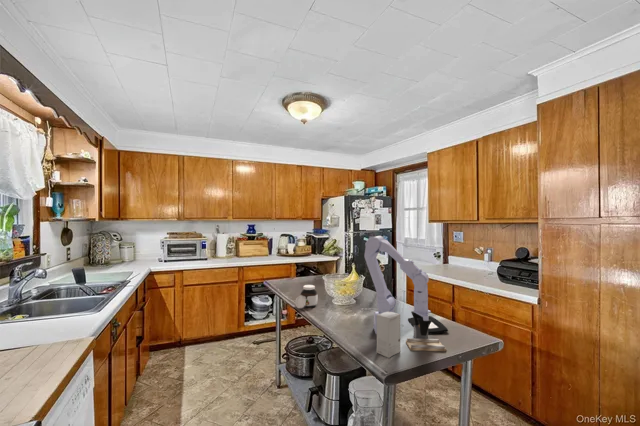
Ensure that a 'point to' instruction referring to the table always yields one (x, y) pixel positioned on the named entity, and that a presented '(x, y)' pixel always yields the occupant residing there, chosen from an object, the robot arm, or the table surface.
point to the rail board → (425, 344)
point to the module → (417, 333)
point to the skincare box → (388, 334)
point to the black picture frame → (432, 326)
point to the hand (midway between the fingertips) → (420, 331)
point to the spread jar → (307, 297)
